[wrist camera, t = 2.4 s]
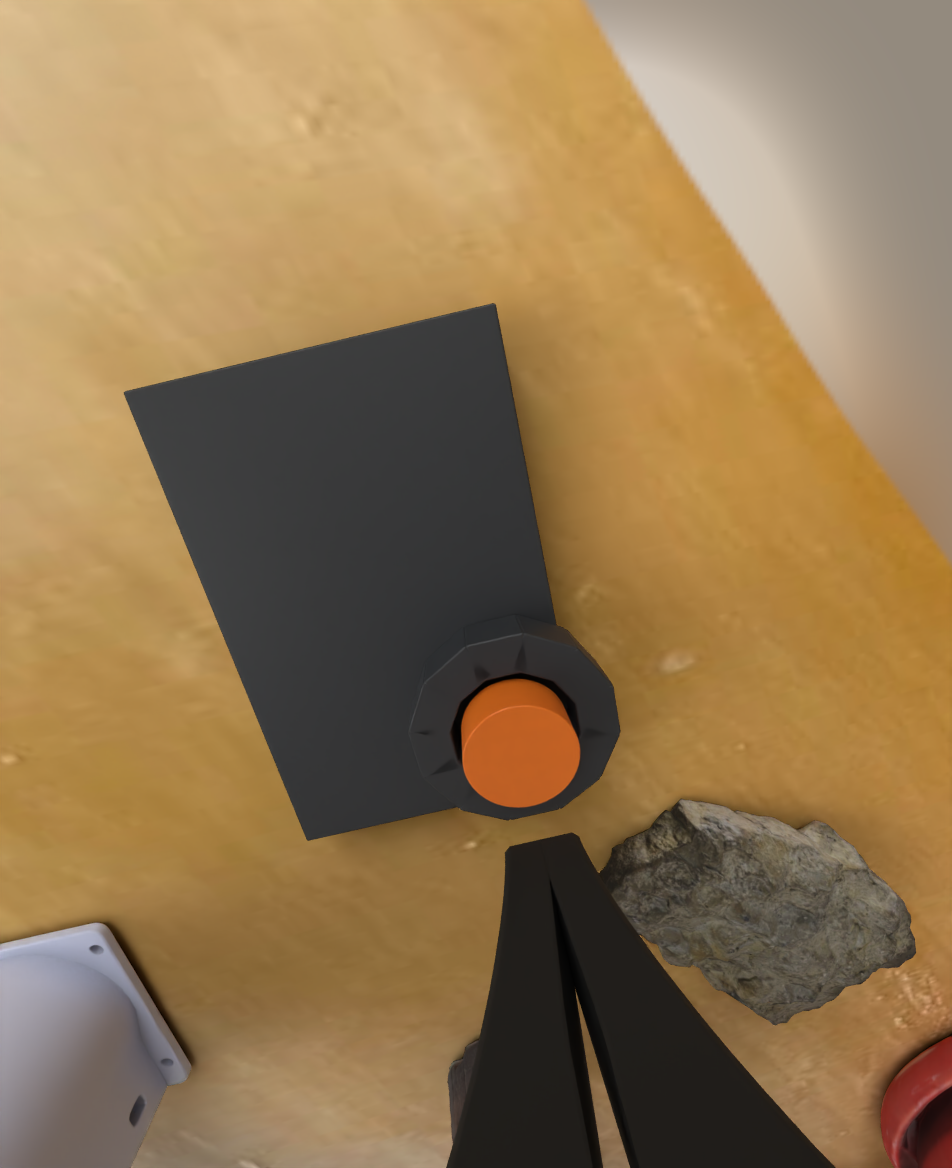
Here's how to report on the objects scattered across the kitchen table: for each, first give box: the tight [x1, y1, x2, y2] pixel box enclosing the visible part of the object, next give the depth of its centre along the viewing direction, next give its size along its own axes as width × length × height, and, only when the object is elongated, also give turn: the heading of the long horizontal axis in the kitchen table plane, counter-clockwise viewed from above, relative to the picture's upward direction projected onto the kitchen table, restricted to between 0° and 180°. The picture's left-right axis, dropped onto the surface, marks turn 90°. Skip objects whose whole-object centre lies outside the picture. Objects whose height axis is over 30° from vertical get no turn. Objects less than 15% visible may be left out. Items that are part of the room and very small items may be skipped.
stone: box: [599, 799, 916, 1025], centre depth 19 cm, size 14×8×3 cm, turn 54°
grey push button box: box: [124, 303, 620, 841], centre depth 14 cm, size 15×11×4 cm
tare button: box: [461, 679, 580, 808], centre depth 13 cm, size 3×3×2 cm
